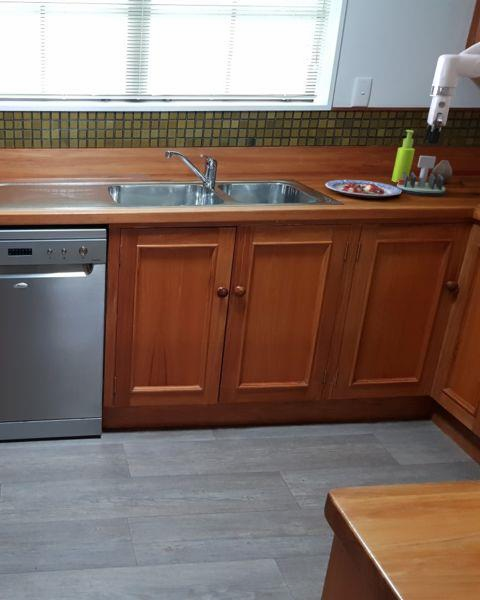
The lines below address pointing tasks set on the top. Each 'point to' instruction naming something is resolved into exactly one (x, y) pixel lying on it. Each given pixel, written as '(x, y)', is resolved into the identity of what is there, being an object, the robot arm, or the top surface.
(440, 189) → the dish rack
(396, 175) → the soap dispenser
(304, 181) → the top surface
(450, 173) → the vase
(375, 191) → the ceramic plate
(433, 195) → the turntable base
